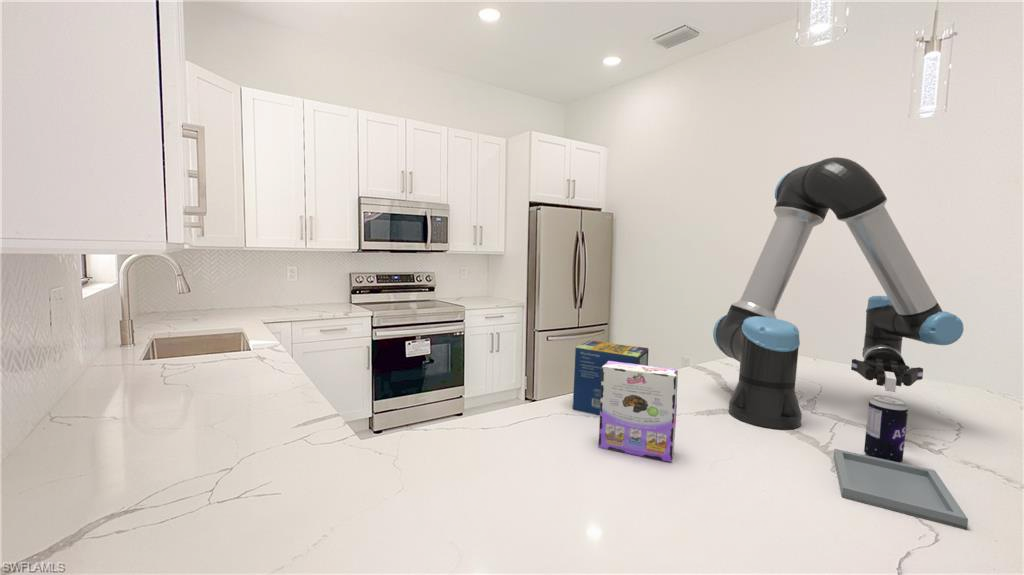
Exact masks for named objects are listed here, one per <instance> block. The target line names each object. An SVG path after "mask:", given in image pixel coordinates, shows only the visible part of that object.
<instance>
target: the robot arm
mask: <svg viewBox="0 0 1024 575" xmlns="http://www.w3.org/2000/svg"><path fill="white" fill-rule="evenodd" d="M774 198H775V206H774V208H773V212H774V214H775V216H776V219H775V221H774V223H773V225H772V229H771V231H770V232H769V235H768V237H767V239H766V241H765V244H764V246H763V247H762V251H761V253H760V255H759V257H758V259H757V260H756V263H755V265H754V269H753V271H752V273H751V274H750V277H749V280H748V282H747V283H746V286H745V289H744V291H743V293H742V295H741V298H740V299H739V300H738V301H736V302H733V303H731V305H730V307H729V309H728V311H727V313H726V314H725V315H723V316H722V317H720V318H719V319H718V320H717V321H716V322H715V324H714V327H713V331H712V332H713V333H712V334H713V335H712V336H713V341H714V343H715V345H716V347H717V348H718V350H720V351H721V352H722V353H723V354H724V355H725V356H726V357H729V358H732V359H734V360H736V361H737V362H739V371H738V372H739V373H738V374H739V375H738V382H737V384H736V387H735V389H734V391H733V393H732V395H731V397H730V398H729V401H728V402H729V403H728V412H729V414H730V415H731V416H732V417H734V418H736V419H738V420H740V421H741V422H745V423H748V424H751V425H755V426H758V427H759V426H760V427H763V428H768V429H770V428H771V429H777V430H791V429H797V428H800V426H801V425H802V417H803V415H802V411H801V407H800V403H799V400H798V396H797V393H796V381H797V379H796V378H797V368H798V360H799V359H798V357H799V348H800V344H801V343H800V342H801V341H800V330H799V328H798V327H797V326H796V325H795V324H794V323H792V322H790V321H787V320H784V319H778V318H777V316H776V313H775V311H776V310H777V308H778V305H779V303H780V301H781V299H782V296H783V294H784V292H785V289H786V288H787V286H788V283H789V281H790V279H791V277H792V274H793V272H794V270H795V268H796V266H797V263H798V261H799V259H800V256H801V255H802V254H803V251H804V248H805V246H806V244H807V242H808V239H809V237H810V235H811V233H812V231H813V228H814V227H817V226H818V225H821V224H823V223H824V220H825V219H826V217H827V214H828V213H829V210H831V211H832V212H833V214H834V215H835V216H836V219H837V220H838V221H841V222H844V223H846V226H847V228H848V229H849V231H850V232H851V233H850V234H852V237H853V238H854V240H855V241H856V244H857V245H858V247H859V248H860V251H861V252H862V254H863V255H864V257H865V260H866V261H867V263H868V265H869V266H870V269H871V270H872V271H873V273H874V276H875V277H876V279H877V280H878V283H879V284H880V286H881V287H882V289H883V291H884V292H885V294H886V295H873V296H870V297H868V299H867V308H866V309H865V312H866V314H865V315H866V316H865V333H864V339H863V340H864V341H863V347H862V354H861V355H862V358H863V360H858V359H856V358H853V359H851V368H850V370H852V371H854V372H855V373H856V372H857V374H859V375H860V376H861V377H863V378H864V379H865V380H868V381H873V380H876V385H877V386H880V387H884V390H885V391H886V392H890V393H896V390H897V389H896V387H902V385H903V386H905V387H910V386H913V384H914V383H915V382H917V381H920V380H923V378H924V377H923V376H924V368H922V367H910V366H909V365H907V364H906V362H905V359H904V358H903V356H902V346H903V338H906V339H910V340H913V341H914V340H915V341H918V342H922V343H925V344H929V345H930V344H931V345H938V346H948V345H952V344H954V343H956V342H958V340H959V339H960V338H961V337H962V336H963V333H964V324H963V320H962V319H961V318H960V317H958V316H957V315H956V314H953V313H950V312H949V311H943V309H942V307H941V306H940V304H939V303H938V301H937V299H936V297H935V295H934V293H933V292H932V290H931V288H930V286H929V284H928V283H927V281H926V279H925V277H924V275H923V273H922V272H921V270H920V268H919V266H918V264H917V263H916V260H915V259H914V256H913V254H912V253H911V252H910V250H909V248H908V246H907V244H906V243H905V241H904V239H903V237H902V234H900V232H899V230H898V227H897V226H896V224H895V223H894V221H893V219H892V217H891V215H890V214H889V212H888V210H887V208H886V206H885V205H886V203H887V201H888V197H887V196H886V194H885V192H884V191H883V189H882V188H881V186H880V185H879V183H878V182H877V180H876V179H875V177H873V175H872V174H871V173H870V172H869V171H868V170H866V168H865V167H864V166H863V165H861V164H859V163H857V162H856V161H855V160H854V161H853V160H852V159H851V158H850V159H848V158H846V157H845V158H844V157H836V156H835V157H833V156H832V157H828V158H825V159H822V160H820V161H817V162H814V163H811V164H808V165H803V166H799V167H796V168H794V169H793V170H791V171H789V172H788V173H785V175H783V177H781V178H780V180H779V181H778V182H777V184H776V186H775V190H774Z"/></svg>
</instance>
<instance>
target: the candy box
mask: <svg viewBox="0 0 1024 575" xmlns="http://www.w3.org/2000/svg"><path fill="white" fill-rule="evenodd" d="M678 379H679V369H678V368H677V369H676V368H669V367H661V366H654V365H653V366H651V365H648V366H646V365H638V364H630V363H622V362H614V361H608V362H607V363H606V364H605V365H604V366H602V375H601V399H600V415H599V428H598V444H597V447H598V448H599V449H606V450H609V451H615V452H618V453H619V452H620V453H625V454H628V455H629V454H630V455H633V456H639V457H643V458H644V457H645V458H649V459H655V460H659V461H664V462H669V463H672V461H673V457H674V452H675V439H676V438H675V436H676V423H677V405H678Z"/></svg>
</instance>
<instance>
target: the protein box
mask: <svg viewBox="0 0 1024 575" xmlns="http://www.w3.org/2000/svg"><path fill="white" fill-rule="evenodd" d="M574 348H575V350H574V353H575V354H574V370H573V371H574V372H573V373H574V374H573V395H572V396H573V398H572V410H575V411H579V412H583V413H588V414H593V415H597V416H600V399H601V375H602V366H604V365H605V364H606V363H607V362H608V361H614V362H622V363H630V364H638V365H646V366H649V352H650V351H649V348H648V347H642V346H634V345H627V344H618V343H614V342H613V343H612V342H611V343H610V342H605V341H596V340H589V341H586V342H584V343H582V344H579V345H577V346H575V347H574Z"/></svg>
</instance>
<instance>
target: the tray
mask: <svg viewBox="0 0 1024 575" xmlns="http://www.w3.org/2000/svg"><path fill="white" fill-rule="evenodd" d="M833 460H834V461H833V462H834V465H835V470H836V475H837V480H838V486H839V489H840V495H841V498H844V499H848V500H851V501H855V502H858V503H863V504H867V505H871V506H873V507H874V506H875V507H878V508H883V509H886V510H890V511H894V512H898V513H901V514H905V515H909V516H912V517H916V518H921V519H925V520H928V521H932V522H936V523H939V522H940V524H943V523H945V524H944V525H947V524H949V525H948V526H951V525H952V526H951V527H955V526H956V528H958V527H959V528H958V529H962V528H963V530H966V529H967V530H968V523H969V518H968V517H967V515H966V513H964V510H962V508H961V506H960V505H959V503H958V502H957V501H956V499H955V497H954V495H952V493H951V492H950V490H949V489H948V487H947V486H946V485H945V483H944V481H943V479H942V478H941V477H940V476H939V474H938V472H937V471H936V470H935V469H932V468H926V467H921V466H917V465H912V464H908V463H904V462H900V463H899V462H894V461H890V460H885V459H880V458H876V457H871V456H868V455H867V454H862V453H856V452H852V451H848V450H842V449H838V448H833Z"/></svg>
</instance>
